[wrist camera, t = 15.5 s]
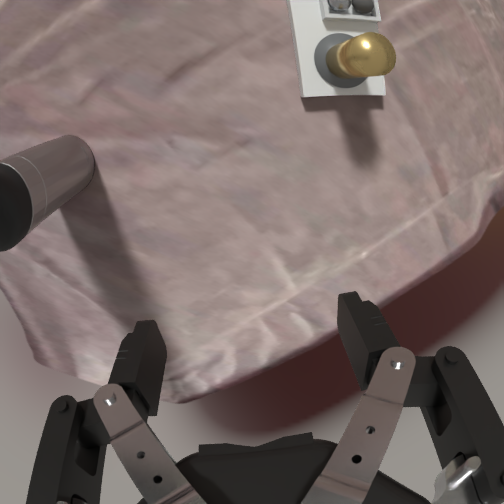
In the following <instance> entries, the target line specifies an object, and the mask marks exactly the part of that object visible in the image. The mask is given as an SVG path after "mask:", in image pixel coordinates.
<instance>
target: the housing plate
mask: <svg viewBox="0 0 504 504" xmlns="http://www.w3.org/2000/svg"><path fill="white" fill-rule="evenodd" d="M286 1H287V6H288V12H289V18H290V24H291V31H292V37H293V44H294V51H295V58H296V65H297V72H298V80H299V88H300V96H301V97H314V96H337V95H386V92H385V81H384V75H383V76H371V77H360V78H350V79H342V78H339V77H336V76H335V75H333V74H332V73H331V72H330V70H329V69H328V67H327V65H326V54H327V52H328V50H329V49H330V48H331V47H333V46H335V45H337V44H339V43H341V42H344V41H346V40H348V39H351V38H353V37H356V36H358V35H360V34H363V33H366V32H375V33H379V32H378V26H377V23H378V22H381V17H380V11H379V6H378V1H377V0H373V2H374V8H373V10H372V11H371V12H370V13H366V14H363V13H359V12H357V11H356V10H355V9H354V8H353V6H352V0H350V1H351V5H350V7H349V9H348V10H346V11H344V12H337V11H334V10H333V9H331V8H330V6H329V5H328V0H286Z"/></svg>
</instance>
